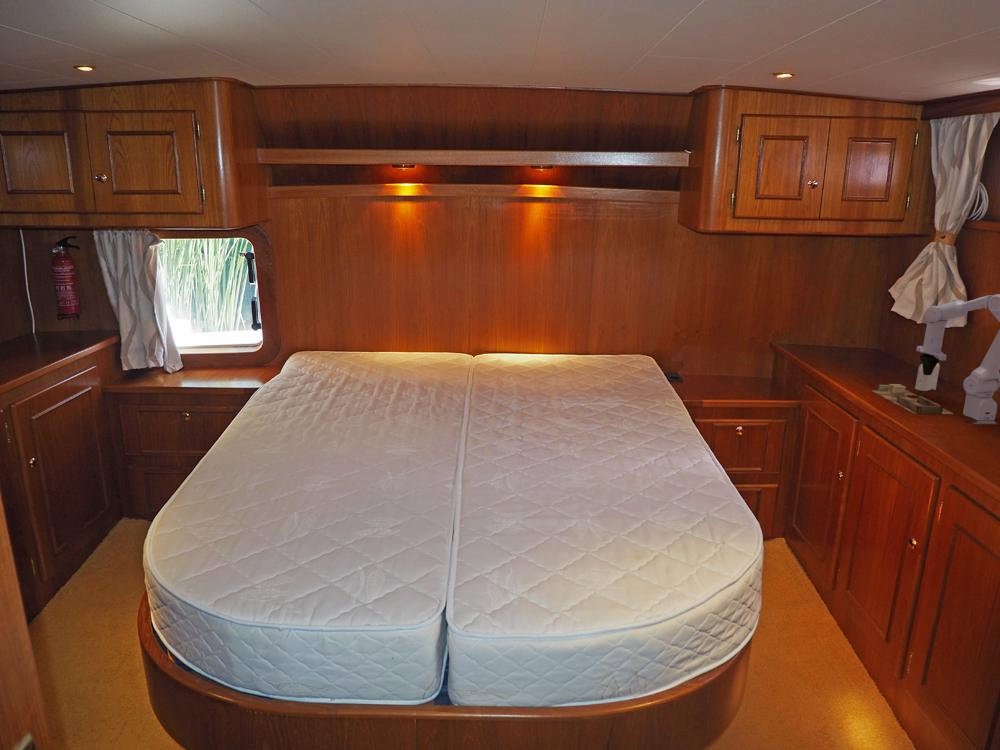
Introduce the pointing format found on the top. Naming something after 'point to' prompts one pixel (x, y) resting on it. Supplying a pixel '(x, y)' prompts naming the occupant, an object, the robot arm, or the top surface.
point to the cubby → (927, 406)
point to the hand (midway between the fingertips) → (927, 374)
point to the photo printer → (927, 379)
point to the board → (884, 393)
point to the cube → (896, 390)
